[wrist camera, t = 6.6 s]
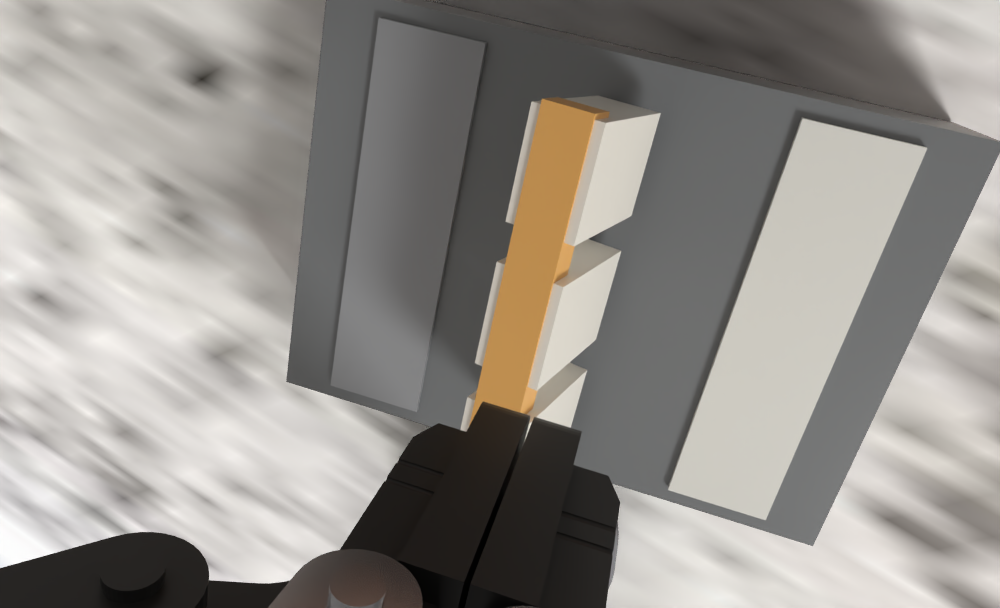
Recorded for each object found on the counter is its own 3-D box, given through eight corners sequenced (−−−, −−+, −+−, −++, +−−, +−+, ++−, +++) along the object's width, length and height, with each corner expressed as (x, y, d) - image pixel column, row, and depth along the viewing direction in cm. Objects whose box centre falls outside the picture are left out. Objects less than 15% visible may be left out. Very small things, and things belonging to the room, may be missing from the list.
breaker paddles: (662, 107, 15) (605, 116, 12) (564, 450, 18) (502, 518, 16) (598, 90, 16) (531, 95, 13) (514, 427, 19) (446, 488, 16)
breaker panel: (953, 122, 17) (1007, 143, 14) (796, 477, 21) (813, 549, 18) (379, -11, 19) (324, -16, 16) (334, 338, 23) (283, 384, 20)
